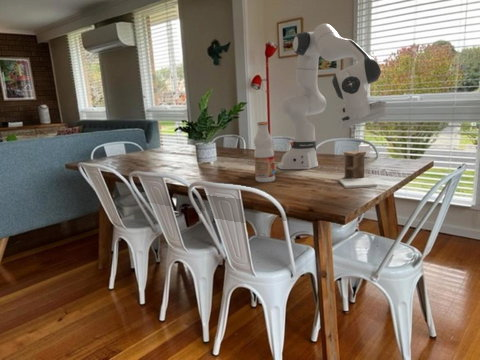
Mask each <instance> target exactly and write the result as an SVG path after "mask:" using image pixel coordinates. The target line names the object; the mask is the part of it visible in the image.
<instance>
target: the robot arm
mask: <svg viewBox="0 0 480 360" xmlns="http://www.w3.org/2000/svg"><path fill="white" fill-rule="evenodd" d="M292 47H293V51H294V53H295V54H296V55H298V56H297V63H296V71H295V72H296V74H295V83H296V85H297V86H298V87H299V88H301V89H302V91H303V94H298V95H297V94H296V95H295V94H294V95H290V96H287V97H285V98H284V99H283V100H282V102H281V109H282V113H283V114H284V115H285V116H286V117H288V118H289V119H290V121H291V123H292V126H293V130H294V140H293V141H290V147H291V148H290V149H289V150H287V151H286V152H285V153H284V154H283V156H282V158H281V162H280V163H278V164H277V168H278V169H280V170H309V169H310V170H311V169H314V168H316V167H318V166H319V162H318V158H317V141H316V127H315V125H314V123H311V122H310V121H308V119H307V116H313V115H318V114H320V113H323V112H324V111H326V108H327V99H326V98H325V96H324V95H323V94H322V93H321V91H320V90H319V86H318V75H319V73H318V72H319V58H322V59H323V60H325V61H328V62H334V61H339V60H343V59H346V58H347V59H348V58H353V59H354V60H355V61H356V63H354V64H352V65H349V66H347V67H345V68H343V69H341V70H339V71H338V72H336V73H334V75H333V78H332V80H331V83H332V87H333V88H334V90H335V93H336V95H337V97H338V98H339V99H340V100H343V102H344V103H343V104H341V105H339V106H337V108H336V111H337V115H336V117H337V122H338V127H339V128H340V129H345V128H349V129H352V131H354V130H356V125H359V124H364V123H366V122H367V123H368V122H370V121H371V122H372V121H373V123H374V124H379V122H378V121H379V120H380V119H382V118H385V117H387V116H388V110H387V102H386V101H385V100H383V101H382V100H378V101H375V102H372V103H370V101H369V98H368V95H367V91H366V88H365V86H367V85H371V84H373V83H376V82H377V81H378V80H379V78H380V76H381V73H382V71H381V66H380V64H379V63H378V61H376V59H374V57H372V56H370V55H369V54H368V53H367V52H366V51H365V50H364V49H363V48H362V47H361V46H360V45H358V44H357V43H356V41H354V40H352V39H351V38H345V37H341V36H340V34H339V33H338V31H337V30H336V29H335V28H334V27H333V26H332V25H330V24H329V23H321V24H319V25H317V26H316V27H315V28H314V29H313V31H302V32H299V33H297V34H295V35H294V38H293V42H292Z"/></svg>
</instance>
